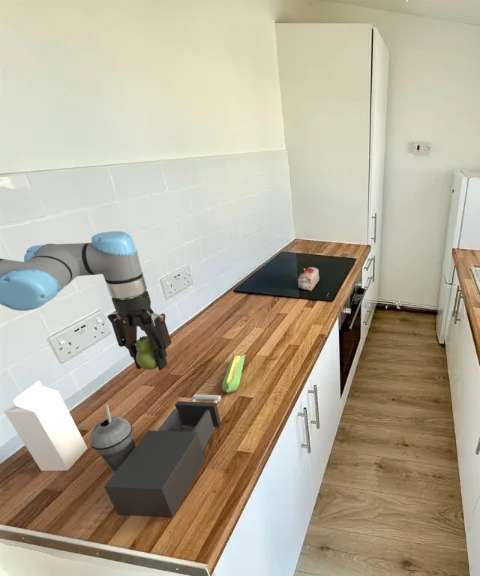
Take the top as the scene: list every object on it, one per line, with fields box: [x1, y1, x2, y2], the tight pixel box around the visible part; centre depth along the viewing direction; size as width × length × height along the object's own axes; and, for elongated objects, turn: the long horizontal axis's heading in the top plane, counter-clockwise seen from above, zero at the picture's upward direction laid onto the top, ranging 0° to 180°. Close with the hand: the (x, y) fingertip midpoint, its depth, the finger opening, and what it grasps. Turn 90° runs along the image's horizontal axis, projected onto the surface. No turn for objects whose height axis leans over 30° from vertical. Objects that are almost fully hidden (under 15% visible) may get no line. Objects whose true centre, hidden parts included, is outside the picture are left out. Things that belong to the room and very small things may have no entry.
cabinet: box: [103, 429, 206, 518], centre depth 72 cm, size 13×11×9 cm
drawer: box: [157, 393, 222, 451], centre depth 84 cm, size 18×10×8 cm, turn 179°
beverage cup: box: [89, 404, 136, 475], centre depth 72 cm, size 7×7×20 cm
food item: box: [297, 266, 320, 292], centre depth 168 cm, size 14×8×10 cm, turn 173°
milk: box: [4, 380, 88, 472], centre depth 73 cm, size 6×6×22 cm
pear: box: [136, 335, 158, 371], centre depth 90 cm, size 6×5×10 cm
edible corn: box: [221, 353, 246, 393], centre depth 106 cm, size 5×20×5 cm, turn 12°
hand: (152, 366), depth 92 cm, fingers closed on pear, 5 cm apart
